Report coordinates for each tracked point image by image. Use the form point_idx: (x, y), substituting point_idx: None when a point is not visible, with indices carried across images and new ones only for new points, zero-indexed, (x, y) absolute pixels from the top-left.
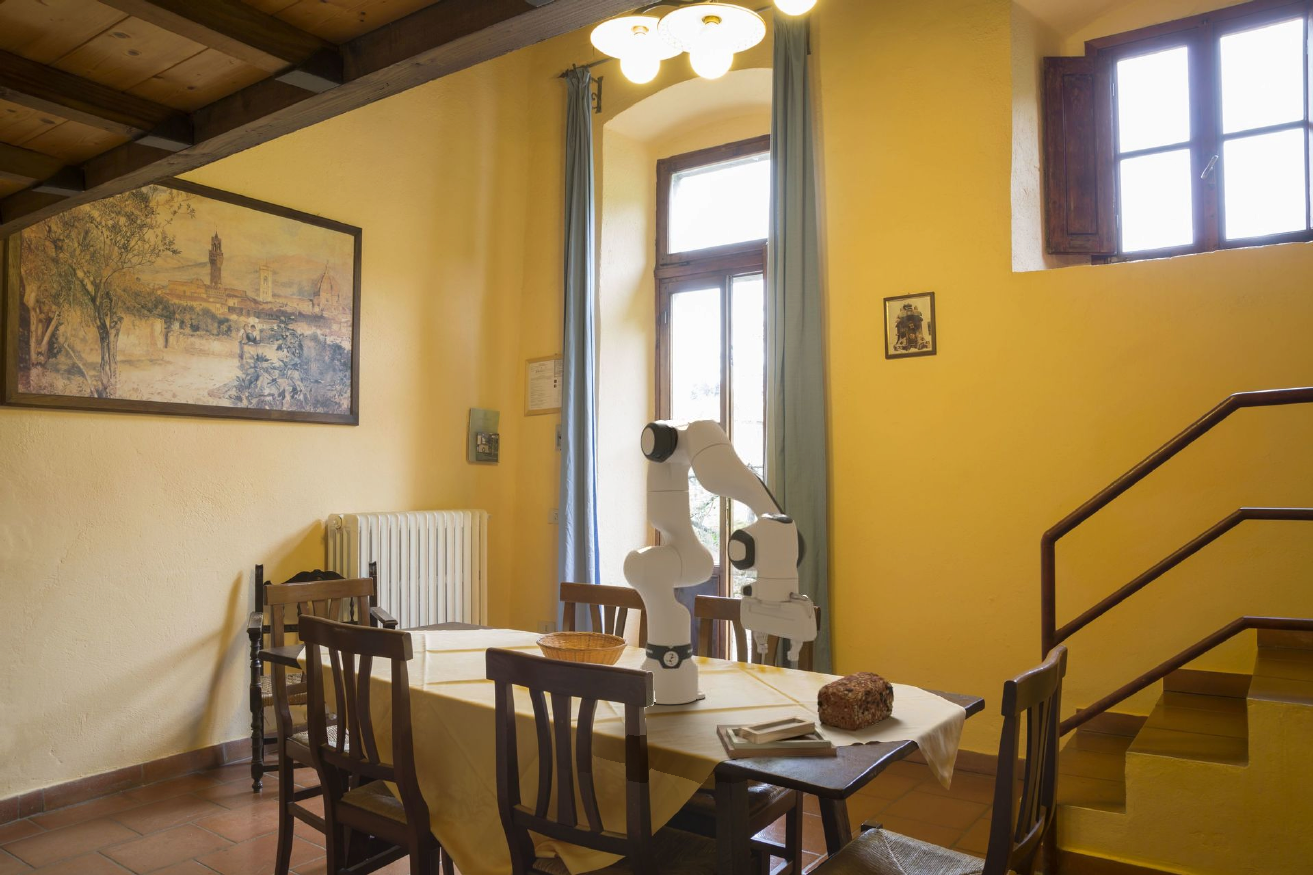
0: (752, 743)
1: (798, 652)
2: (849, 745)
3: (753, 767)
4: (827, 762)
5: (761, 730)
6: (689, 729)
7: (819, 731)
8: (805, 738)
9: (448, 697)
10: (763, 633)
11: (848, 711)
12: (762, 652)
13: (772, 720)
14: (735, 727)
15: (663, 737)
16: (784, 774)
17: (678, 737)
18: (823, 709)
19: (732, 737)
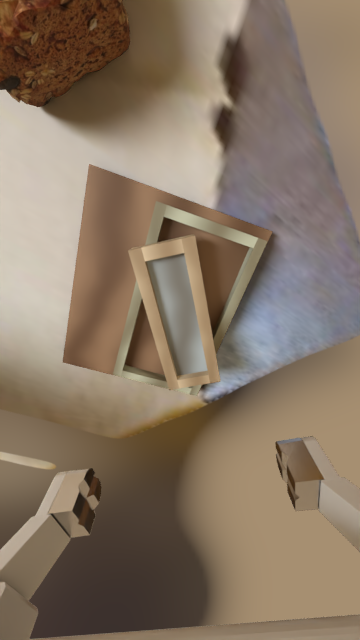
0: None
1: (336, 473)
2: (225, 155)
3: (245, 379)
4: (286, 269)
5: (180, 352)
6: (47, 384)
7: (195, 221)
8: None
9: None
10: (1, 614)
11: (103, 22)
12: (99, 490)
13: (148, 318)
14: (85, 342)
15: (81, 424)
16: (291, 357)
17: (85, 409)
18: (28, 84)
19: (168, 387)
